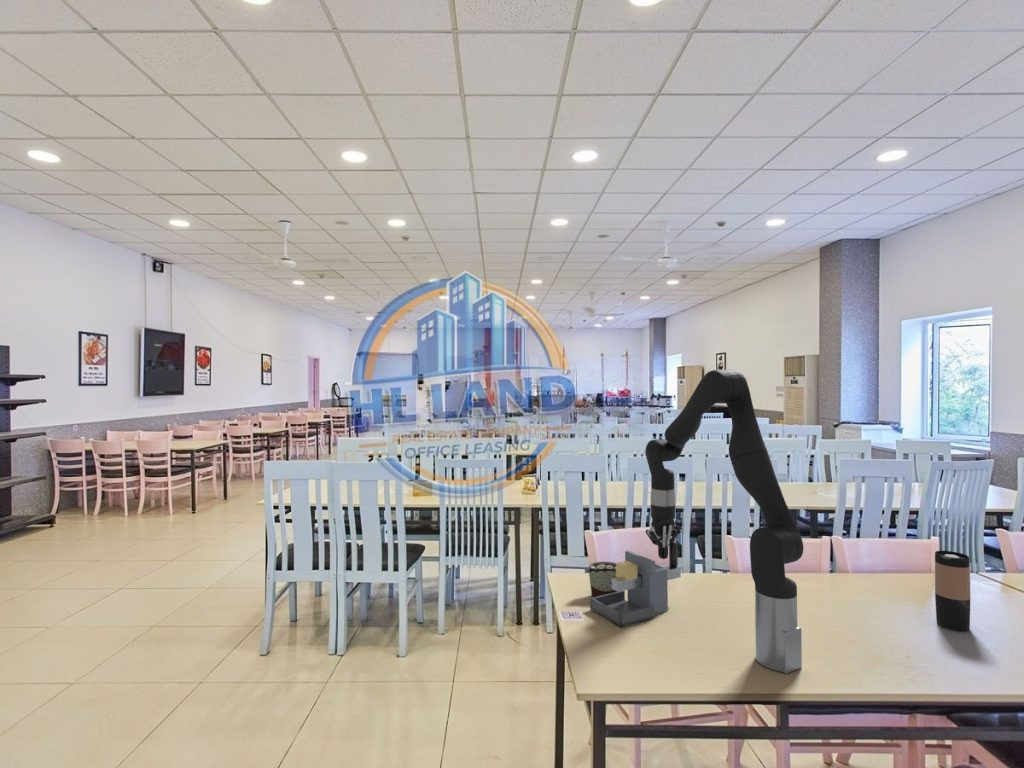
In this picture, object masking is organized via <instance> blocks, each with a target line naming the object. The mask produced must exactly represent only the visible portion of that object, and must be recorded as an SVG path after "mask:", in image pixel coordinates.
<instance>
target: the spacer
mask: <svg viewBox="0 0 1024 768" xmlns="http://www.w3.org/2000/svg"><path fill="white" fill-rule="evenodd" d="M615 563H616V577H618V578H620V579H622V580H624V581H629V580H634V579H638V565H636V564H634V563H631V562H629V561H625V560H624V561H622V562H621V561H619V562H615Z"/></svg>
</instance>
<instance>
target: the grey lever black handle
mask: <svg viewBox="0 0 1024 768" xmlns="http://www.w3.org/2000/svg"><path fill="white" fill-rule="evenodd" d="M678 546H679V545H678V541H677V540H674V542H673V544H669V546H668V565H667V566H666V565H665V566H662V567H663V568H666V569H667V581H671V580H674V579H679V578H682V577H681V575H682V573H681V572H682V570H681V567H680V566H679V565H678V564H679V555H678V554H679V553H678V552H679V551H678V548H679V547H678ZM641 586H642V575H640V574H638V579H634V580H629V581H624V580H622V579H620V578H618V577H617V578H612V589H614V590H615V591H617V592H620V591H625V592H626V591H628V590H629V589H633V588H637V587H641Z"/></svg>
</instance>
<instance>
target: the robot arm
mask: <svg viewBox="0 0 1024 768" xmlns="http://www.w3.org/2000/svg"><path fill="white" fill-rule="evenodd" d="M716 404H726V407H727V409H728V412H729V415H730V418H731V427H732V428H731V433H730V437H729V445H728V456H729V459H730V462H731V465H732V469H733V471H734V474H735V476H736V478H737V480H738V482H739V484H740V485H741V486H742V487H743V488H744V490H745V491H746V492H747V493H748V494H749V495H750V497H751V498H753V500H754V501H755V503H756V504H757V505H758V507H759V509H760V511H761V514H762V515H763V518H764V521H765V525H766V526H762V527H758V528H756V529H755V530H754V531H753V532H752V533H751V536H750V539H749V540H750V541H749V559H750V568H751V569H750V571H751V576H752V579H753V581H754V598H755V599H754V602H755V603H754V604H755V605H754V607H755V608H754V609H755V611H754V612H755V616H754V617H755V618H754V620H755V621H754V622H755V623H754V624H755V629H754V630H755V659H756V662H758V664H760V665H761V666H763V667H765V668H767V669H769V670H773V671H776V672H781V673H782V674H788V673H792V672H793V671H796V670H799V669H802V667H803V665H802V664H803V663H802V662H803V661H802V659H803V657H802V654H803V652H802V650H803V649H802V628H801V627H800V626H798V587H797V583H796V582H795V581H794V580H793V579H791V578H789V577H787V576H786V572H785V571H786V570H785V565H786V564H790V563H794V562H797V561H799V560H800V559H801V558H802V557H803V554H804V542H803V538H802V535H801V533H800V530H799V528H798V526H797V524H796V523H795V520H794V518H793V516H792V514H791V511H790V509H789V507H788V505H787V502H786V500H785V498H784V494H783V492H782V489H781V487H780V484H779V481H778V479H777V476H776V474H775V473H776V472H775V470H774V467H773V464H772V461H771V458H770V454H769V452H768V449H767V446H766V445H765V442H764V438H763V434H762V433H761V429H760V425H759V423H758V420H757V416H756V413H755V410H754V409H755V408H754V405H753V400H752V396H751V391H750V388H749V384H748V380H747V379H746V377H745V376H744V374H743V373H742V372H740V371H739V370H736V369H713V370H709V371H707V373H705V374H704V375H703V377H702V378H701V379H700V381H699V383H698V384H697V386H696V388H695V389H694V391H693V393H692V394H691V396H690V398H689V399H688V401H687V402H686V404H685V406H684V407H683V409H682V410H681V412H680V413H679V414H678V415H677V417H675V419H674V420H673V421H672V422H670V424H669V426H668V427H667V428H666V429H665V432H664V438H662V439H661V438H660V439H652V440H649V441H648V442H647V444H646V446H645V449H644V450H645V452H644V454H645V457H646V461H647V465H648V468H649V472H650V475H651V476H650V480H651V482H650V485H651V486H650V517H651V525H650V526H651V527H650V528H648V529H646V530H645V535H647V537H648V538H649V540H650V542H651V543H652V545H655V546H657V549H658V551H657V552H658V553H657V555H658V558H660V559H662V560H665V559H668V558H669V544H673V542H674V541H676V539H677V536H678V534H679V533H680V531H681V527H680V526H677V525H676V522H675V519H676V491H675V474H674V471H673V470H672V469H668V468H665V465H664V462H673V461H675V460H676V459H678V458H679V457H680V455H681V454H682V452H683V450H684V448H685V445H686V443H688V442H689V441H690V440H691V439H692V437H693V436H695V434H696V433H697V431H699V429H700V426H701V423H702V418H703V415H704V414H705V413H706V411H707V410H709V409H710V408H711V407H713V406H714V405H716Z"/></svg>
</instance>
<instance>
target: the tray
mask: <svg viewBox="0 0 1024 768" xmlns="http://www.w3.org/2000/svg"><path fill="white" fill-rule="evenodd" d="M625 594H626V590H625V591H620V592H614V593H610V594H606V595H601V596H597V597H593V598H592V597H590V610H591V611H592V612H594V613H595V614H597V615H599V616H600V617H602V618H604V619H605V618H606V619H605V620H607V621H608V620H609V621H608V622H610V623H612V624H613V623H614V625H615V626H617V627H618V626H619V627H618V628H620V629H622V628H626V627H628V626H632V624H633V625H636V624H639V623H643V622H647V621H650V619H651V620H654V619H655V615H654V606H648V607H645V608H639V607H637V606H635V605H633V604H632V603H630V602H628V600H626V599H625V597H626V595H625ZM653 618H654V619H653ZM646 620H647V621H646ZM625 626H626V627H625Z"/></svg>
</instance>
